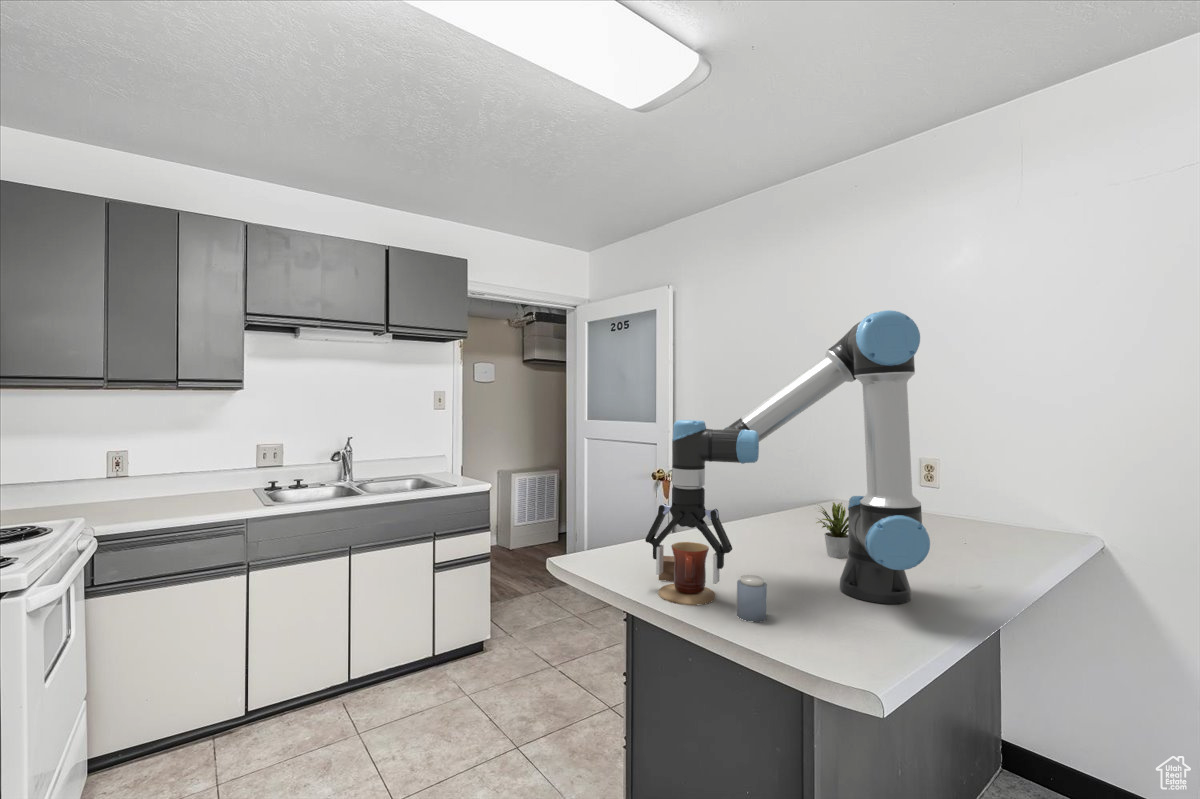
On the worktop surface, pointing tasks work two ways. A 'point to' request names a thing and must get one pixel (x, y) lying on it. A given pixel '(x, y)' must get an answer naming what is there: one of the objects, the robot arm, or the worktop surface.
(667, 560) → the block
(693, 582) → the mug
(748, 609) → the jar
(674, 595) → the trivet
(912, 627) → the worktop surface
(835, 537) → the house plant
